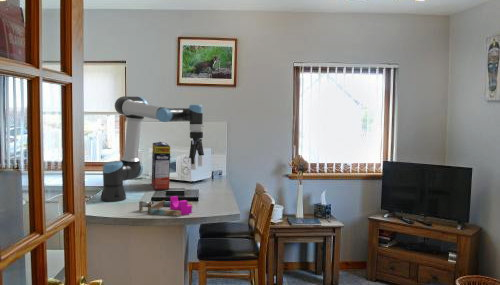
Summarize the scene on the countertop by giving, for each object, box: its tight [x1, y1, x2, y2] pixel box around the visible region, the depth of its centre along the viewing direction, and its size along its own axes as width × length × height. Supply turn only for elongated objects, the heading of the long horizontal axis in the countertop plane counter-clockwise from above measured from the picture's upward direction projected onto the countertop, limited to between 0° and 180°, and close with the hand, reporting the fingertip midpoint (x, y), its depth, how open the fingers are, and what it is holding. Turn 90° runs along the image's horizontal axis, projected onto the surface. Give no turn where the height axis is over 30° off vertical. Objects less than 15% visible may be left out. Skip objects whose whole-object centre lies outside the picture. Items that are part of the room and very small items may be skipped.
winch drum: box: [138, 200, 155, 212], centre depth 234 cm, size 7×5×5 cm, turn 79°
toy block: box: [169, 195, 193, 216], centre depth 232 cm, size 15×6×8 cm, turn 33°
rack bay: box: [147, 200, 194, 217], centre depth 234 cm, size 18×20×3 cm
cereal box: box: [151, 141, 171, 191], centre depth 301 cm, size 27×11×32 cm, turn 17°
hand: (196, 167), depth 242 cm, fingers open, 13 cm apart
